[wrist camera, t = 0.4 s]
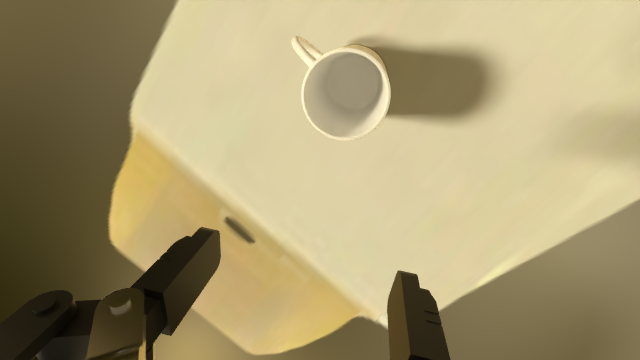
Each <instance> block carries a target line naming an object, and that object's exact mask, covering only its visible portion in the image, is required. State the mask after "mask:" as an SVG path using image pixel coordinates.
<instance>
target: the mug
mask: <svg viewBox="0 0 640 360" xmlns="http://www.w3.org/2000/svg"><path fill="white" fill-rule="evenodd" d="M291 43H292V46H293V48H294V49H295V51H296V52H297V54H298V55H299V56H300V57H301V58H302V59H303V60H304V61H305V63H306V64H307V65H308V66H309V67H310V68H309V70H308V71H307V73H306V75H305V78H304V81H303V85H302V92H301V97H302V105H303V109H304V112H305V114H306V116H307V118H308V120H309V121H310V123H311V124H312V125H313V126H314V127H315V128H316V129H317V130H318V131H319V132H321V133H322V134H324V135H326V136H328V137H330V138H333V139H337V140H354V139H358V138H361V137H363V136H365V135H367V134H369V133H371V132H372V131H373V130H374V129H376V128H377V127H378V126H379V124H380V123H381V122H382V121H383V119H384V117H385V116H386V114H387V111H388V109H389V105H390V100H391V87H390V82H389V78H388V75H387V71H386V68H385V65H384V63H383V61H382V59H381V58H380V57H379V56H378V55H377V54H376V53H375V52H374V51H373V50H371V49H369V48H367V47H364V46H360V45H349V46H345V47H342V48H339V49H335V50H332V51H329V52H327V53H325V54H323V53H321V52H320V51H319V50H318V49H317V48H315V47H314V46H313V45H312V44H310V43H309V42H308V41H306V40H305V39H303V38H301V37H299V36H295V37H294V38H293V39H292V42H291ZM307 51H308V52H310V53H311V54H312V55H313V56H315V57H316V58H317V60H316V59H315V58H314V57H312V56H311V55H310V54H309V53H308V52H307Z"/></svg>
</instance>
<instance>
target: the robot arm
mask: <svg viewBox="0 0 640 360" xmlns="http://www.w3.org/2000/svg"><path fill="white" fill-rule="evenodd" d="M220 258H221V252H220V233H219V231H218V230H213V229H209V228H204V227H201V228H199V229H198V230H197V231H196V232H195V234H194V235H193V236H192V237H190V236H186V237H184V238H182V239H180V240H178V241H176V242H175V243H174V244H173V245H172V246H171V247H170V248H169V249H168V250H167V252H165V253H164V254H163V255H162V256H161V257H160V259H159V260H157V261H156V262H155V263H154V264H153V265H152V266H151V267H150V268H149V269H148V270H147V271H146V272H145V273H144V274H143V275H142V276H141V277H140V278H139V279H138V280H137V281H136V282H135V283H134V284H133V285H132V286H131V287H130V288H122V289H119V290H116V291H114V292H112V293H110V294H108V295H107V296H105V297H104V298H103V299H102V300H86V301H74V298H73V296H72V294H71V293H70V292H68V291H64V290H55V291H50V292H46V293H43V294H41V295H39V296H37V297H35V298H33V299H31V300H29V301H28V302H27V303H26V304H24V305H23V306H22V307H20V308H19V309H18V310H17V311H15V312H14V313H13V314H12V315H11V316H9V317H8V318H7V319H5V320H4V321H3V322H2V323H0V360H31V359H33V358H34V357H35V356H36V357H35V358H34V359H33V360H155V340H156V339H157V337H158V336H159V335H160V334H161V333H162V334H166V335H170V336H171V335H172V334H173V332H174V331H175V329H176V328H177V326H178V325H179V323H180V322H181V321H182V319H183V317H184V316H185V315H186V313H187V312H188V310H189V309H190V308H191V306H192V305H193V303H194V302H195V300H196V299H197V297H198V296H199V295H200V293H201V292H202V290H203V289H204V287H205V286H206V284H207V283H208V281H209V280H210V279H211V277H212V276H213V274H214V273H215V271H216V270H217V268H218V266H219V263H220ZM387 313H388V331H389V348H390V360H450V356H449V352H448V348H447V345H446V340H445V336H444V332H443V328H442V326H441V320H440V316H439V312H438V308H437V304H436V301H435V299H434V298H433V296H432V295H431V293H430V292H429V290H426V289H421V288H420V286H419V280H418V276H417V274H413V273H408V272H404V271H398V272H397V274H396V277H395V280H394V283H393V286H392V288H391V291H390V294H389V298H388V305H387Z"/></svg>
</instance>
